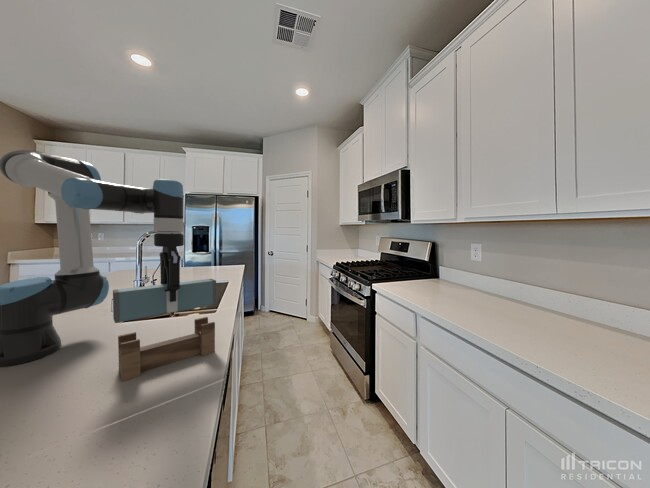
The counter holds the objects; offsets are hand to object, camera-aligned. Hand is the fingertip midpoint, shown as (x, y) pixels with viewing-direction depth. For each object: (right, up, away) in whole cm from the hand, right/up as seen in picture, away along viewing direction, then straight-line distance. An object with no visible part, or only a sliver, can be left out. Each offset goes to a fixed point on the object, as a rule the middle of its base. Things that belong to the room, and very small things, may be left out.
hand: (170, 309), depth 76 cm
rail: (0, 0, 0) cm, 0 cm away
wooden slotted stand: (0, -16, +1) cm, 16 cm away
